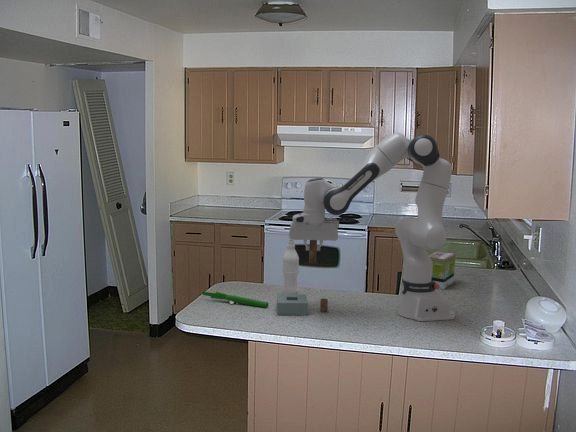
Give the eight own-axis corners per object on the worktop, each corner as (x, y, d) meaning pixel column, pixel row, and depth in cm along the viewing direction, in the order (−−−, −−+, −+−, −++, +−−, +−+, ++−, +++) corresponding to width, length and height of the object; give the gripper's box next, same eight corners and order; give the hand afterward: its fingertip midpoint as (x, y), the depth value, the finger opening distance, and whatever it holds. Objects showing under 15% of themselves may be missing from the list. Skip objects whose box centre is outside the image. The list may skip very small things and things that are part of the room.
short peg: (327, 310, 249) (327, 298, 248) (327, 312, 246) (328, 300, 245) (319, 310, 248) (320, 298, 248) (320, 312, 245) (320, 300, 245)
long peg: (315, 261, 253) (316, 235, 251) (316, 263, 250) (317, 237, 248) (308, 261, 253) (309, 235, 251) (309, 263, 250) (310, 237, 248)
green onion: (268, 308, 253) (205, 296, 263) (269, 300, 252) (205, 288, 263) (264, 311, 248) (199, 299, 259) (264, 304, 248) (199, 291, 258)
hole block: (305, 305, 254) (305, 294, 253) (307, 315, 242) (307, 303, 241) (277, 305, 253) (277, 294, 252) (277, 315, 241) (277, 303, 241)
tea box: (444, 290, 281) (446, 259, 278) (423, 286, 286) (425, 256, 283) (454, 282, 293) (455, 253, 291) (433, 279, 298) (435, 250, 296)
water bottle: (279, 297, 265) (280, 241, 261) (284, 293, 272) (285, 238, 268) (295, 299, 263) (296, 242, 259) (300, 294, 270) (301, 239, 266)
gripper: (338, 216, 252) (337, 249, 254) (289, 215, 251) (288, 248, 254) (340, 219, 246) (338, 252, 248) (289, 218, 245) (288, 251, 247)
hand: (312, 250), depth 251 cm, fingers closed on long peg, 3 cm apart
